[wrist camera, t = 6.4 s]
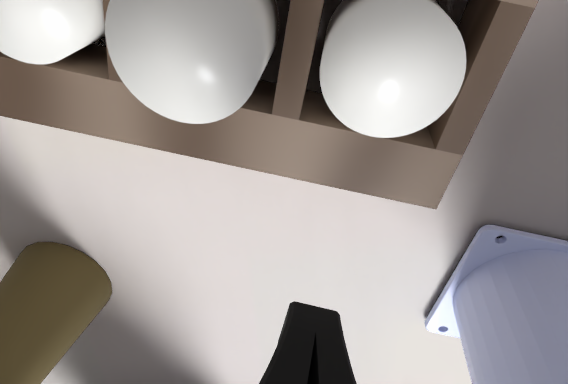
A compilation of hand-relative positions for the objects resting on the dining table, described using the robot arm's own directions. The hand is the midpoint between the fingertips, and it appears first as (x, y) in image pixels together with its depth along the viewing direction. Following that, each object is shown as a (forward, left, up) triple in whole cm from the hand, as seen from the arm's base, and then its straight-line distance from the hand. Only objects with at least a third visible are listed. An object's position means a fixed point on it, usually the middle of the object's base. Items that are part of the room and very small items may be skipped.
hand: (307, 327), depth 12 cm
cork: (+14, +12, -9) cm, 21 cm away
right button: (-1, -6, -9) cm, 11 cm away
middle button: (+5, -6, -7) cm, 10 cm away
